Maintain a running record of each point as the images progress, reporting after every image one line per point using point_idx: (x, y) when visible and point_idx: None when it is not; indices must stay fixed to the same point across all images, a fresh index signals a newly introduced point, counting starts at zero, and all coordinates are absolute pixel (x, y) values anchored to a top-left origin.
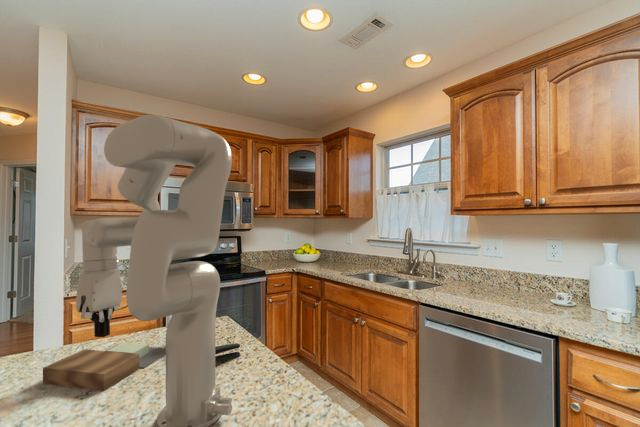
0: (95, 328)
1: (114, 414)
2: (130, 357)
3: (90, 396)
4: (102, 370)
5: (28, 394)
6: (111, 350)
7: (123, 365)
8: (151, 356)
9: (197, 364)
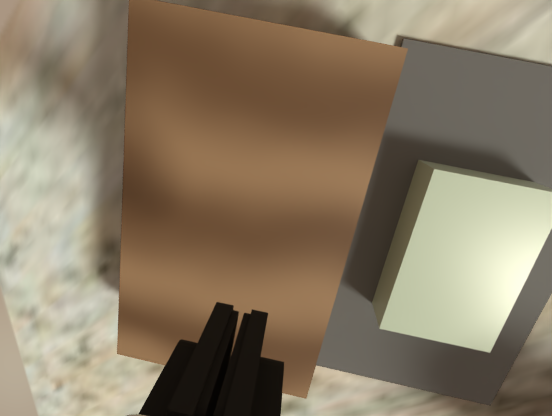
0: (159, 383)
1: (57, 393)
2: None
3: (117, 287)
4: (143, 331)
5: (89, 36)
6: (434, 197)
7: None
8: (417, 351)
9: None
